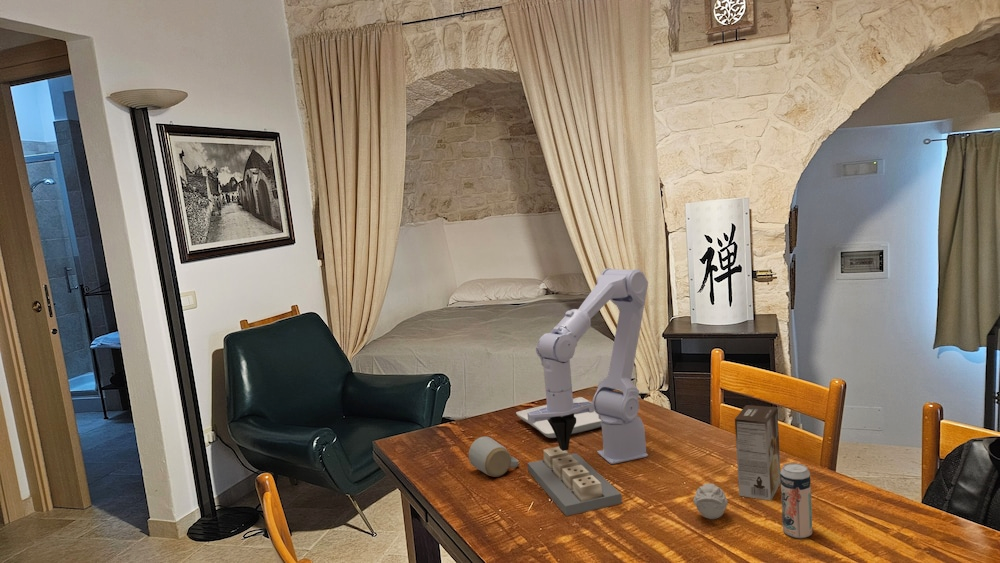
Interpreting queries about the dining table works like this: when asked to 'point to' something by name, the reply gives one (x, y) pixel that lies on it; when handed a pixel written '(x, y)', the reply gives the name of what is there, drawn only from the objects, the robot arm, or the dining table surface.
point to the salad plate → (582, 420)
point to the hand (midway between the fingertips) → (563, 448)
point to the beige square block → (587, 488)
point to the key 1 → (553, 455)
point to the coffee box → (758, 452)
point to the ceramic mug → (491, 457)
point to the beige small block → (573, 475)
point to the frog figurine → (710, 501)
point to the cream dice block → (563, 464)
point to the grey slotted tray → (565, 496)
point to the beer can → (796, 500)
